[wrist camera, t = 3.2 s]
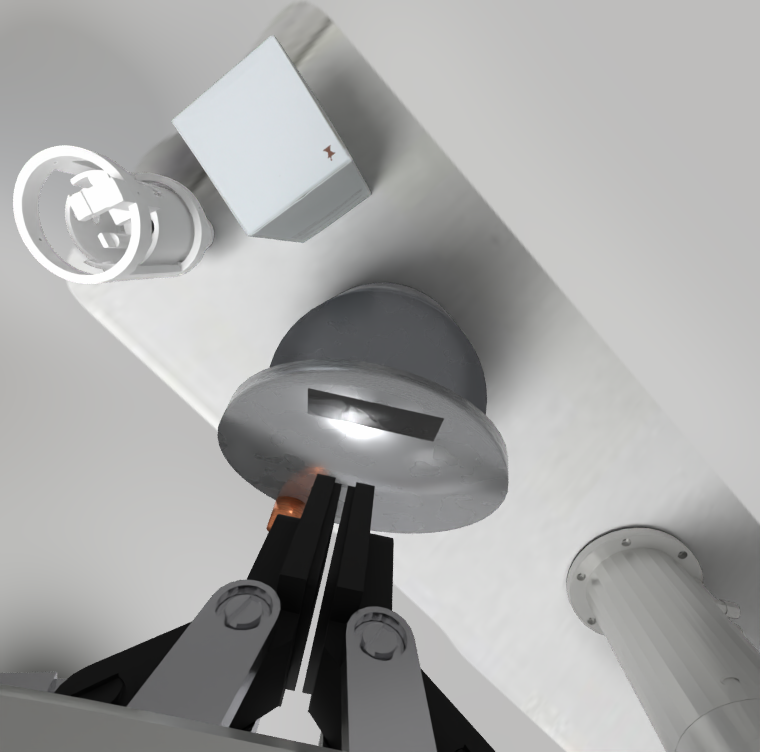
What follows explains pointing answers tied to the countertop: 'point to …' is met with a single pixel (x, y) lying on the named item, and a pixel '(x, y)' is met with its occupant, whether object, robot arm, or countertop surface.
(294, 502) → the lid
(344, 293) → the grey rounded cylinder
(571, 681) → the countertop surface
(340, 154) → the supplement box
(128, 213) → the white caged cylinder
